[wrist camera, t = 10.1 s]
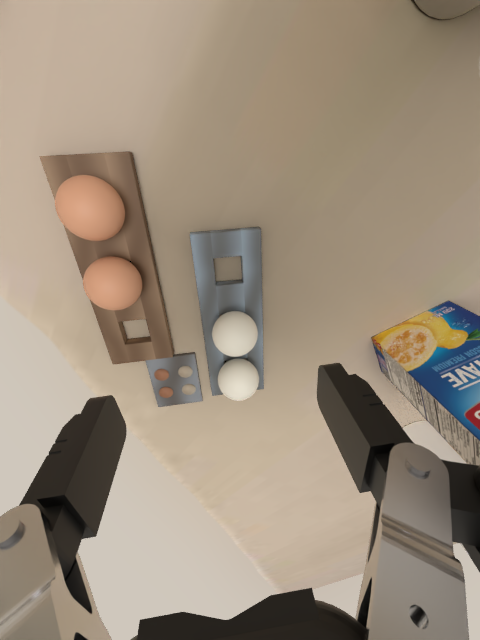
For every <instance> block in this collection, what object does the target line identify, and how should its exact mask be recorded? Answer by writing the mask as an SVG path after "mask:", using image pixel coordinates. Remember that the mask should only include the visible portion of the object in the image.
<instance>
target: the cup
mask: <svg viewBox="0 0 480 640" xmlns="http://www.w3.org/2000/svg"><path fill="white" fill-rule="evenodd" d="M403 430H404V431H405V432H406V434H407V435H408V436H409V438H410V439H411V440H412V441H413V443H414V444H418V445H420V446H423V447H425V448H427V449H429V450H430V451H432V452H433V453H434V454H436V455H437V456H438V457H439V458H440V459H442V460H446V461H451V462H458V463H465V464H467V463H466V462H465V461H464V460H463V459H462V457H461V456H460V455H459V454H458V453H457V452H456V451H455V450H454V449H453V448H452V447H451V446H450V445H449V443H448V442H447V441H446V440H445V439H444V438H443V437H442V436H441V435H440V434H439V433H438V432H437V431H436V429H435V428H434V427H433V426H432V425H431V424H430V423H429V422H428V421H417V422H413V423H411V424H408V425H406V426H405V427H403ZM460 544H461V545H462V543H460ZM462 547H463V548H464V546H463V545H462ZM464 550H465V548H464ZM465 551H466V550H465ZM466 552H467V551H466ZM468 555H469V554H468Z"/></svg>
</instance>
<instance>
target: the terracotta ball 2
mask: <svg viewBox="0 0 480 640" xmlns="http://www.w3.org/2000/svg"><path fill="white" fill-rule="evenodd" d="M83 286H84V290H85V292H86V294H87V296H88V298H89V299H90V300H91V301H92V302H93V303H94V304H96V305H97V306H99V307H101V308H103V309H107V310H122V309H125V308H127V307H129V306H131V305H132V304H134V303H135V302H136V301H137V299H138V298H139V296H140V294H141V291H142V279H141V276H140V273H139V272H138V270H137V269H136V267H135V266H134V265H133V264H131V263H130V262H129V261H127V260H125V259H123V258H119V257H113V256H108V257H103V258H100V259H98V260H96V261H94V262H93V263H92V264H90V266H89V267H88V268H87V270H86V272H85V274H84V278H83Z"/></svg>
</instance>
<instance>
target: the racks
mask: <svg viewBox="0 0 480 640" xmlns="http://www.w3.org/2000/svg"><path fill="white" fill-rule="evenodd" d="M40 159H41V162H42V165H43V168H44V171H45V173H46V176H47V179H48V182H49V185H50V188H51V190H52V193H53V196H54V199H55V197H56V193H57V191H58V188H59V187H60V185H61V184H62V183H63V182H64V181H66V180H67V179H69V178H71V177H73V176H77V175H90V176H94V177H97V178H100V179H102V180H104V181H105V182H107V183H108V184H110V185H111V186H112V187H113V188H114V189H115V190H116V191H117V193H118V194H119V196H120V197H121V199H122V202H123V205H124V209H125V219H124V223H123V226H122V228H121V229H120V231H119V232H118V233H117V234H116V235H114V236H113V237H111V238H109V239H107V240H103V241H90V240H86V239H83V238H80V237H78V236H76V235H75V234H73V233H72V232H70V231H69V230H68V229H67V228H66V227H65V226H64V227H65V230H66V233H67V236H68V239H69V241H70V244H71V247H72V250H73V253H74V256H75V258H76V261H77V264H78V267H79V270H80V273H81V275H82V278H84V274H85V272H86V270H87V268H88V267H89V266H90V264H92V263H93V262H94V261H96V260H98V259H100V258H103V257H108V256H113V257H119V258H123V259H125V260H127V261H131V262H132V264H133V265H134V266H135V267H136V269H137V270H138V272H139V273H140V276H141V279H142V291H141V294H140V296H139V298H138V299H137V301H136V302H135V303H134V304H132V305H131V306H129V307H127V308H125V309H122V310H107V309H103V308H101V307H99V306H97V305H96V304H94V303H93V302H92V301H91V300H90V301H91V304H92V307H93V309H94V312H95V315H96V318H97V321H98V324H99V326H100V329H101V332H102V335H103V338H104V341H105V343H106V346H107V349H108V352H109V355H110V358H111V360H112V363H113V364H121V363H129V362H137V361H146V364H147V368H148V371H149V375H150V379H151V382H152V386H153V389H154V393H155V397H156V400H157V404H158V407H163V406H170V405H178V404H185V403H192V402H200V401H202V394H201V388H200V382H199V376H198V369H197V363H196V357H195V352H193V353H185V354H176V355H173V354H174V350H173V345H172V340H171V335H170V331H169V326H168V321H167V316H166V312H165V307H164V302H163V297H162V293H161V288H160V283H159V278H158V274H157V269H156V264H155V259H154V255H153V250H152V245H151V240H150V235H149V231H148V226H147V221H146V216H145V212H144V207H143V202H142V197H141V193H140V188H139V183H138V178H137V174H136V169H135V164H134V159H133V155H132V153H131V152H114V153H95V154H76V155H57V156H40ZM190 240H191V247H192V254H193V261H194V268H195V275H196V283H197V290H198V297H199V304H200V311H201V318H202V325H203V333H204V340H205V347H206V354H207V361H208V368H209V376H210V383H211V390H212V396H214V395H222V394H223V393H222V392H221V390H220V388H219V385H218V374H219V371H220V369H221V368H222V366H223V365H224V361H228V360H232V359H244V358H246V360H247V361H249V362H250V363H252V364H253V365H254V366H255V368H256V370H257V372H258V375H259V384H258V387H257V390H259V389H264V380H263V317H262V255H261V228H260V227H250V228H238V229H226V230H213V231H201V232H190ZM234 256H241V266H242V280H232V281H221V282H216V281H215V271H214V262H213V258H223V257H234ZM231 311H239V312H244V313H245V314H247V315H249V316H250V317H251V318H252V319H253V320H254V322H255V324H256V326H257V330H258V337H257V341H256V344H255V346H254V347H253V348H252V350H251V351H249V352H248V353H247V354H245V355H242V356H238V357H232V356H228V355H225V354H223V353H222V352H220V351H219V350H218V349H217V347H216V346H215V344H214V341H213V337H212V330H213V326H214V324H215V322H216V321H217V319H218V318H219V315H223V314H225V313H227V312H231ZM140 319H146V321H147V325H148V329H149V333H150V337H142V338H133V339H127V337H126V333H125V330H124V327H123V323H122V321H130V320H140Z"/></svg>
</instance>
